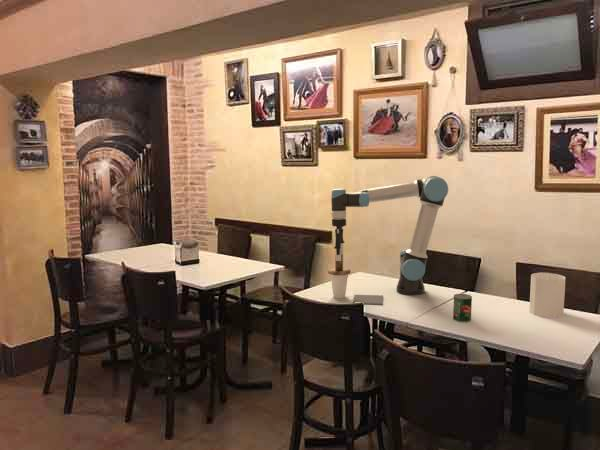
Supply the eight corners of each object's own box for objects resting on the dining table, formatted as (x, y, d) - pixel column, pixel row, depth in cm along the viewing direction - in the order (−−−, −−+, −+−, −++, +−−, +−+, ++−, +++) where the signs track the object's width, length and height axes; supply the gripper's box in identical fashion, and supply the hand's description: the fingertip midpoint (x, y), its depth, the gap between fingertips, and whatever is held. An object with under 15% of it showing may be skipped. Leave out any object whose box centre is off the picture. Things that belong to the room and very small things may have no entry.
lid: (351, 270, 275) (351, 252, 274) (349, 275, 264) (349, 257, 262) (329, 269, 277) (329, 252, 276) (326, 275, 266) (326, 256, 264)
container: (549, 320, 230) (551, 281, 227) (522, 311, 242) (524, 275, 240) (569, 315, 236) (572, 277, 234) (542, 307, 249) (544, 271, 246)
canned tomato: (468, 323, 227) (469, 299, 225) (451, 320, 231) (451, 297, 230) (473, 318, 234) (473, 295, 232) (455, 315, 238) (456, 292, 236)
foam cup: (348, 298, 268) (348, 274, 266) (331, 298, 268) (330, 274, 266) (347, 293, 277) (347, 270, 275) (330, 293, 277) (330, 270, 275)
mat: (382, 296, 270) (382, 295, 270) (382, 304, 256) (382, 303, 256) (354, 295, 273) (354, 294, 273) (352, 303, 258) (352, 302, 258)
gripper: (334, 215, 279) (334, 253, 282) (329, 221, 255) (330, 263, 258) (347, 215, 278) (348, 253, 281) (344, 221, 253) (344, 263, 256)
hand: (339, 258), depth 269 cm, fingers open, 13 cm apart
